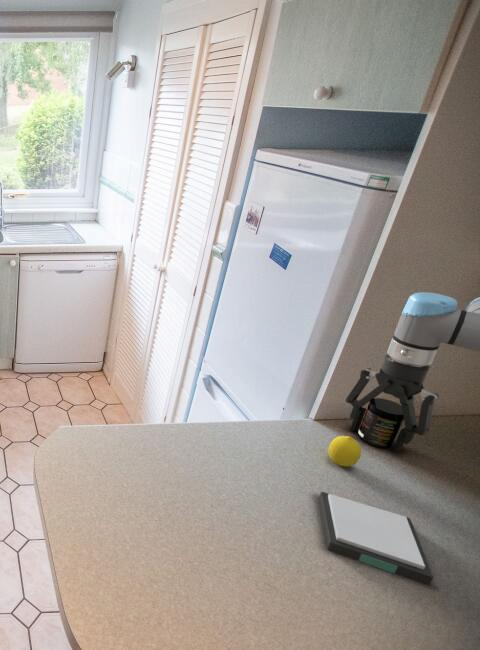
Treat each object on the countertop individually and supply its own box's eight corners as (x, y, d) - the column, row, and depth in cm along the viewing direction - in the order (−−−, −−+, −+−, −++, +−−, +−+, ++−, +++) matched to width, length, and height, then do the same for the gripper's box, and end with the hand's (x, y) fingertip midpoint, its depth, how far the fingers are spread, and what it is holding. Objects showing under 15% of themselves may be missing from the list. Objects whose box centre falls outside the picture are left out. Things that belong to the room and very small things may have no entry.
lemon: (350, 477, 100) (362, 448, 97) (320, 464, 104) (331, 436, 101) (357, 466, 103) (368, 438, 100) (328, 453, 107) (338, 426, 104)
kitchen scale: (405, 527, 88) (411, 515, 87) (428, 587, 77) (435, 574, 76) (317, 500, 94) (322, 488, 93) (326, 551, 83) (331, 539, 82)
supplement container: (398, 452, 107) (414, 416, 103) (366, 449, 109) (381, 413, 105) (380, 434, 113) (395, 399, 109) (350, 431, 115) (363, 396, 111)
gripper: (346, 344, 109) (319, 422, 118) (462, 386, 92) (420, 473, 101) (362, 338, 112) (334, 414, 121) (478, 376, 95) (436, 462, 104)
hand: (374, 440), depth 111 cm, fingers open, 8 cm apart
